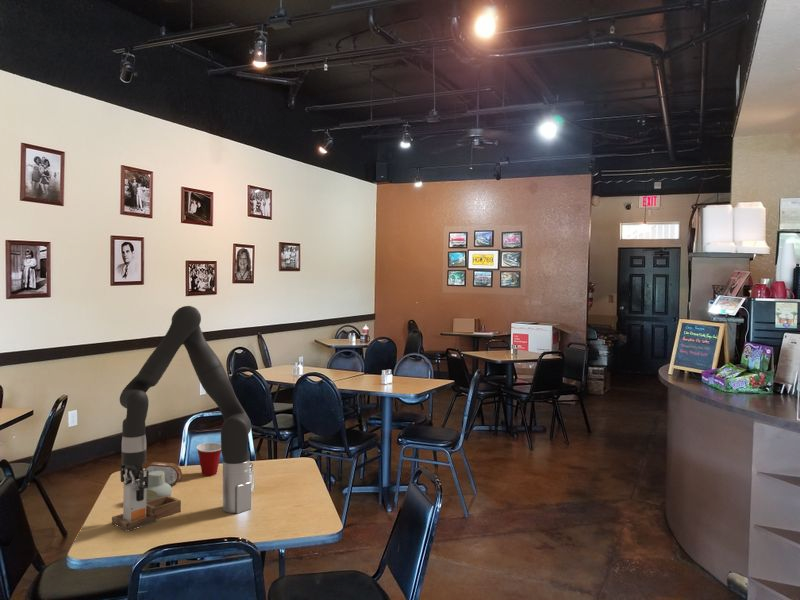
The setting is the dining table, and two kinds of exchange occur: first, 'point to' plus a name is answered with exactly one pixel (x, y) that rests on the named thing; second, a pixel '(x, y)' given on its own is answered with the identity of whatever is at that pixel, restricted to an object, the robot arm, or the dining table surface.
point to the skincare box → (133, 504)
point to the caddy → (152, 512)
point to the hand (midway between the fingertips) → (134, 498)
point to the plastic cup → (209, 458)
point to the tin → (167, 471)
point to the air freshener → (157, 486)
